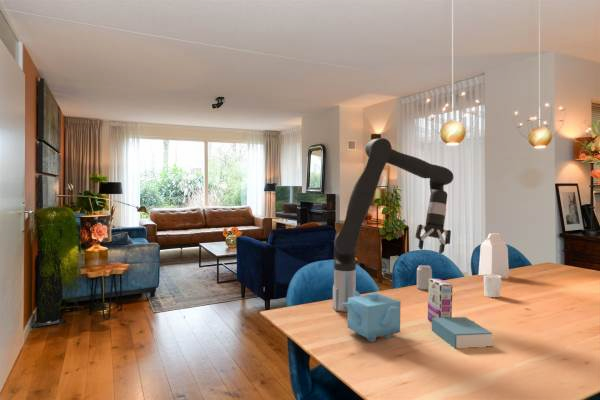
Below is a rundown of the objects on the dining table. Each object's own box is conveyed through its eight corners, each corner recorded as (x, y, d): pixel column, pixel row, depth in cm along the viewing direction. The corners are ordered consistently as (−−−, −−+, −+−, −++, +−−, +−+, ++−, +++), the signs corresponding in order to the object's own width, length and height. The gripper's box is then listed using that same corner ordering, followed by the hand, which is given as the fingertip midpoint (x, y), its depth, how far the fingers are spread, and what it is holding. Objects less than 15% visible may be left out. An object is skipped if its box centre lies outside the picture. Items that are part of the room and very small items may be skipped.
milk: (491, 278, 228) (492, 234, 227) (478, 274, 239) (479, 232, 238) (509, 278, 230) (509, 234, 230) (495, 274, 241) (496, 232, 241)
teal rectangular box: (454, 349, 126) (454, 334, 126) (431, 331, 142) (431, 318, 142) (492, 348, 127) (492, 332, 127) (465, 330, 143) (465, 316, 143)
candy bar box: (452, 328, 144) (453, 284, 144) (439, 328, 144) (440, 284, 143) (439, 318, 155) (439, 278, 155) (427, 319, 155) (427, 278, 154)
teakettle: (401, 329, 143) (401, 289, 143) (398, 348, 125) (398, 303, 125) (350, 323, 149) (350, 285, 149) (340, 341, 131) (341, 298, 131)
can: (432, 291, 199) (432, 267, 199) (417, 290, 200) (417, 267, 200) (430, 287, 206) (431, 264, 206) (416, 286, 208) (416, 264, 207)
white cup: (483, 297, 188) (484, 276, 187) (482, 293, 195) (483, 273, 195) (501, 299, 185) (502, 278, 184) (500, 295, 192) (500, 274, 192)
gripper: (422, 210, 164) (417, 248, 162) (456, 216, 164) (450, 254, 162) (417, 211, 172) (411, 248, 169) (448, 218, 171) (443, 254, 169)
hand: (430, 251), depth 166 cm, fingers open, 8 cm apart
